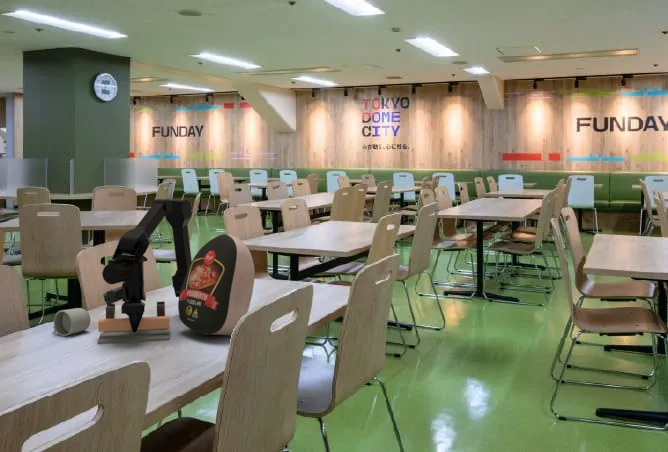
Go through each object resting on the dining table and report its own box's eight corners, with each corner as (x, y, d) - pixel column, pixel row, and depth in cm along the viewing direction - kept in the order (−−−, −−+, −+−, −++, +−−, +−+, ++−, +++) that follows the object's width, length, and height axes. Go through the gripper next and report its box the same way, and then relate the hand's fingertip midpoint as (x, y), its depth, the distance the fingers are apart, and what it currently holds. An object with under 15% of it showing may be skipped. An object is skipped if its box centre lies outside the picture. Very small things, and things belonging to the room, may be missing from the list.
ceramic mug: (92, 331, 209) (91, 306, 209) (71, 337, 202) (70, 312, 201) (67, 327, 214) (66, 303, 213) (46, 334, 207) (44, 308, 206)
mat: (169, 331, 210) (169, 329, 210) (169, 339, 201) (169, 337, 201) (100, 334, 206) (100, 332, 205) (97, 343, 196) (97, 341, 196)
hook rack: (167, 323, 219) (167, 300, 219) (167, 329, 213) (167, 305, 212) (105, 326, 215) (104, 303, 214) (103, 332, 208) (102, 308, 207)
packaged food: (168, 332, 209) (166, 234, 205) (219, 321, 223) (218, 229, 220) (214, 346, 194) (213, 241, 191) (265, 333, 209) (265, 235, 206)
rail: (169, 325, 207) (169, 316, 206) (169, 328, 204) (169, 318, 203) (99, 329, 202) (99, 319, 202) (98, 331, 199) (98, 321, 199)
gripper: (107, 273, 208) (108, 324, 210) (101, 285, 190) (103, 340, 192) (145, 272, 211) (146, 322, 213) (143, 284, 193) (144, 338, 195)
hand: (134, 330), depth 203 cm, fingers closed on rail, 3 cm apart
